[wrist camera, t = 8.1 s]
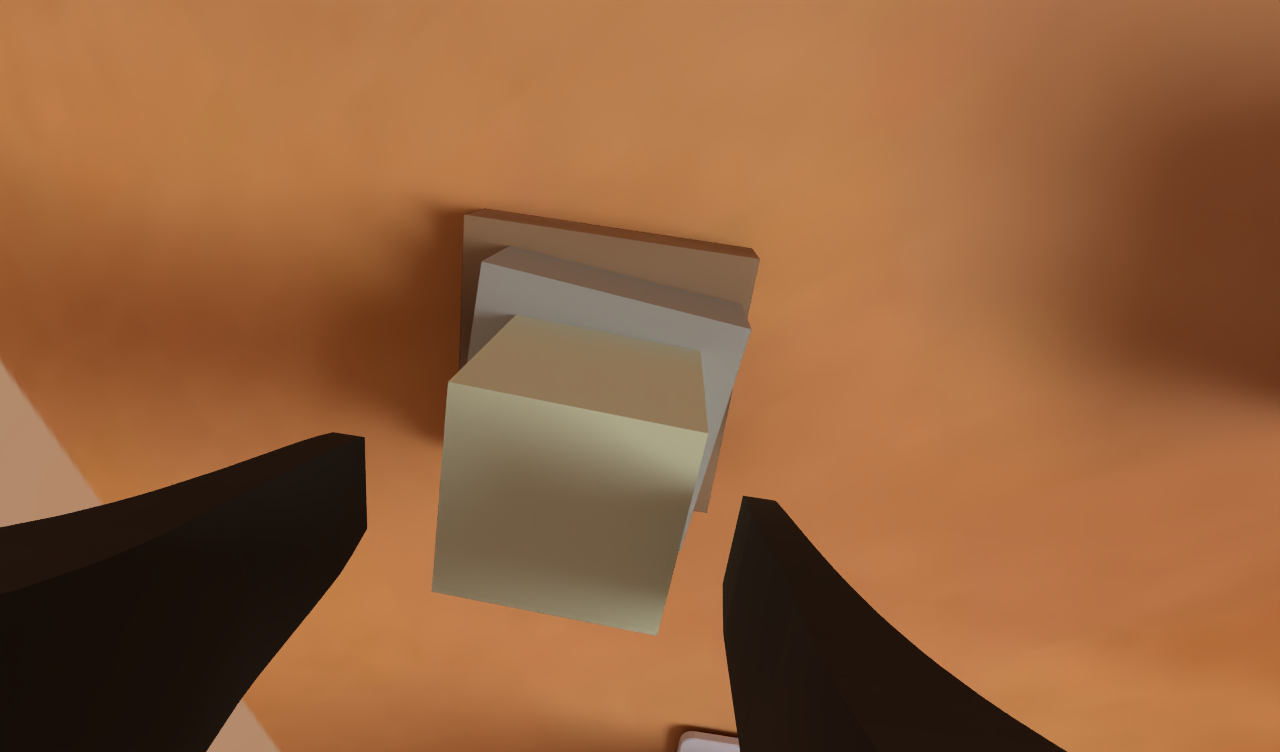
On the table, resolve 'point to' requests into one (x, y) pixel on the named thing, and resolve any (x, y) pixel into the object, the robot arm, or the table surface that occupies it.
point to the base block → (610, 269)
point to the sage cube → (569, 473)
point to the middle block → (616, 318)
